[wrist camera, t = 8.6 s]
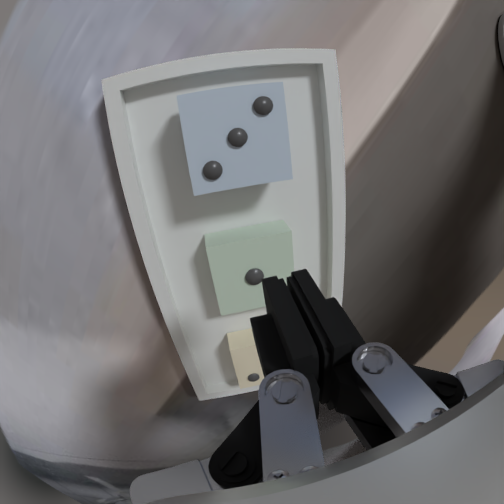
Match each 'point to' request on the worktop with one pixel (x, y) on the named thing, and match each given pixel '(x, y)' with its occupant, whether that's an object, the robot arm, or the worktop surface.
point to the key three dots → (235, 136)
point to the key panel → (227, 191)
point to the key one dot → (248, 263)
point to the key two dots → (245, 358)
